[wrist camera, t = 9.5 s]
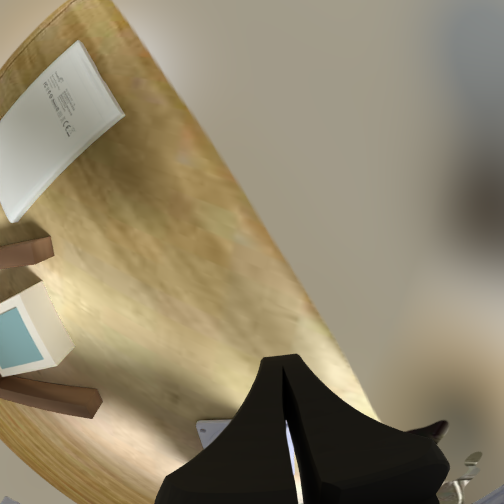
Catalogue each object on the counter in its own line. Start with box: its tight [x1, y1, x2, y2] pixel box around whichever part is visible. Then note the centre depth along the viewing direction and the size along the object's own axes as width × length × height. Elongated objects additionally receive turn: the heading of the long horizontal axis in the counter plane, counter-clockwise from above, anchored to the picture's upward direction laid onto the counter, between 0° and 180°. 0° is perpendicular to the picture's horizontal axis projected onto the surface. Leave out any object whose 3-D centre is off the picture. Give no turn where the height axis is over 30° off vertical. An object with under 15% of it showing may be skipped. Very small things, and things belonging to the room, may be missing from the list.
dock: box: [0, 236, 103, 419], centre depth 19 cm, size 15×15×2 cm
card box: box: [0, 281, 75, 377], centre depth 19 cm, size 6×9×4 cm, turn 110°
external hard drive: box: [0, 40, 125, 223], centre depth 17 cm, size 2×8×12 cm
